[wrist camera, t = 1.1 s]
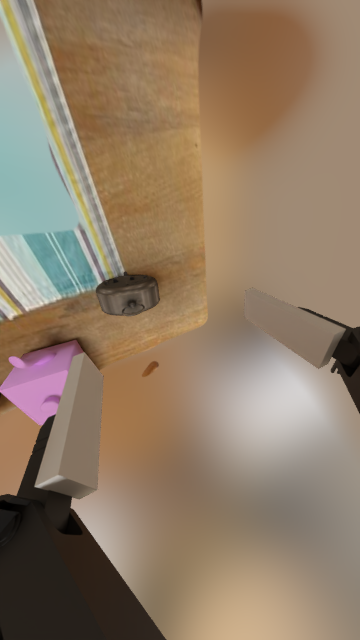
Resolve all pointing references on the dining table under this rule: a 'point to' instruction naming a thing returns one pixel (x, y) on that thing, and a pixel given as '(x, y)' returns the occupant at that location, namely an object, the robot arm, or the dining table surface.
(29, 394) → the pink toy block
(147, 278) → the alarm clock
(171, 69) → the dining table surface
